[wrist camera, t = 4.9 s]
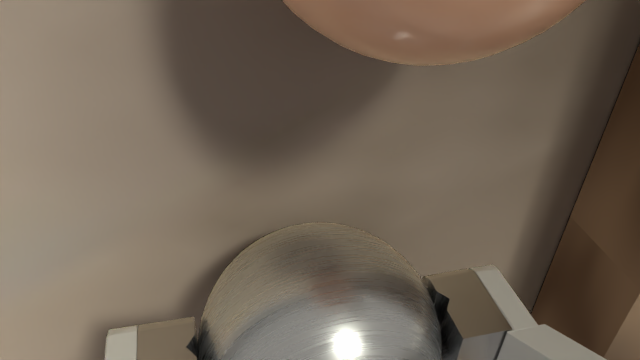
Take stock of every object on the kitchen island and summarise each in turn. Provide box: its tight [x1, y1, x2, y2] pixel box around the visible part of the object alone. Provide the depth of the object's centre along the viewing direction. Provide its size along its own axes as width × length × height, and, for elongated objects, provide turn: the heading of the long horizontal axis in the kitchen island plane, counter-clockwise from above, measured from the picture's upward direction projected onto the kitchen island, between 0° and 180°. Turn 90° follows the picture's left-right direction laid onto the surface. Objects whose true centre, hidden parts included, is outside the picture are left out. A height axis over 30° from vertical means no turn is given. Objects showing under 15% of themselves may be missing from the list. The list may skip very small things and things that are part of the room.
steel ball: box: [198, 222, 442, 360], centre depth 10 cm, size 4×4×4 cm
